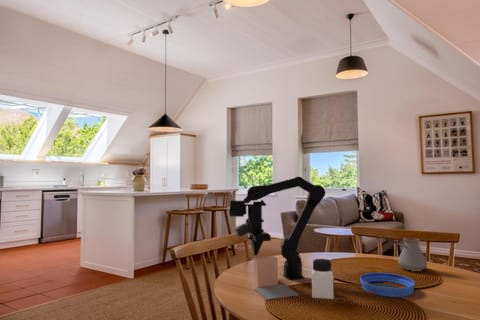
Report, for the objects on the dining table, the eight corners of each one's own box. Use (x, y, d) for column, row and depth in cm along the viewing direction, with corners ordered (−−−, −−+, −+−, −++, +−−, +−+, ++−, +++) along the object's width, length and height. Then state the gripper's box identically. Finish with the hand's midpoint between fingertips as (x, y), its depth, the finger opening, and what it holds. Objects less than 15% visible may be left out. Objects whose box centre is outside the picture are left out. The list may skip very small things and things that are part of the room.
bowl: (411, 284, 130) (410, 274, 130) (418, 301, 112) (418, 290, 113) (360, 279, 135) (359, 270, 136) (360, 295, 118) (360, 284, 118)
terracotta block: (273, 281, 133) (273, 255, 134) (277, 285, 129) (277, 258, 130) (254, 284, 131) (253, 257, 131) (257, 287, 127) (257, 260, 127)
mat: (285, 285, 128) (285, 284, 128) (298, 295, 118) (298, 294, 118) (254, 289, 124) (254, 288, 124) (266, 300, 114) (266, 298, 114)
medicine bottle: (334, 299, 114) (333, 262, 114) (312, 298, 115) (311, 261, 116) (332, 292, 121) (332, 257, 121) (311, 291, 122) (311, 256, 123)
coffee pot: (414, 264, 155) (412, 231, 156) (434, 271, 144) (432, 235, 145) (372, 268, 150) (371, 233, 151) (390, 276, 139) (389, 238, 140)
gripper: (229, 215, 148) (230, 252, 147) (243, 220, 130) (244, 262, 129) (254, 214, 151) (254, 249, 151) (270, 219, 134) (271, 259, 133)
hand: (255, 255), depth 141 cm, fingers closed
